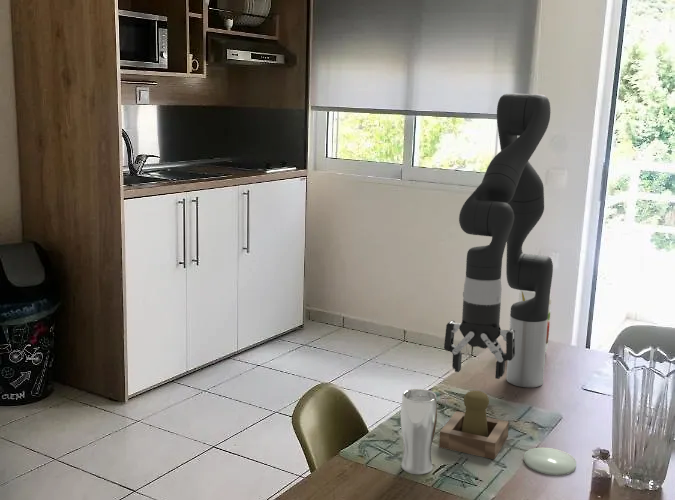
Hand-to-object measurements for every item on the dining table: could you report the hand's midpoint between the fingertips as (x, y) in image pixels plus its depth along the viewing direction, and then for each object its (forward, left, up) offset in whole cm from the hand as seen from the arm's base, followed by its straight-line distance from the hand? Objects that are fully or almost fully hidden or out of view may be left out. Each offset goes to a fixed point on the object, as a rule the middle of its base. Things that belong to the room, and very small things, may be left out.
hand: (477, 374), depth 154 cm
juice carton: (-63, -1, -15) cm, 65 cm away
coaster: (+2, +16, -15) cm, 22 cm away
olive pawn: (0, 0, -15) cm, 15 cm away
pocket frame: (0, 0, -15) cm, 15 cm away
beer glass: (+16, -7, -15) cm, 23 cm away
